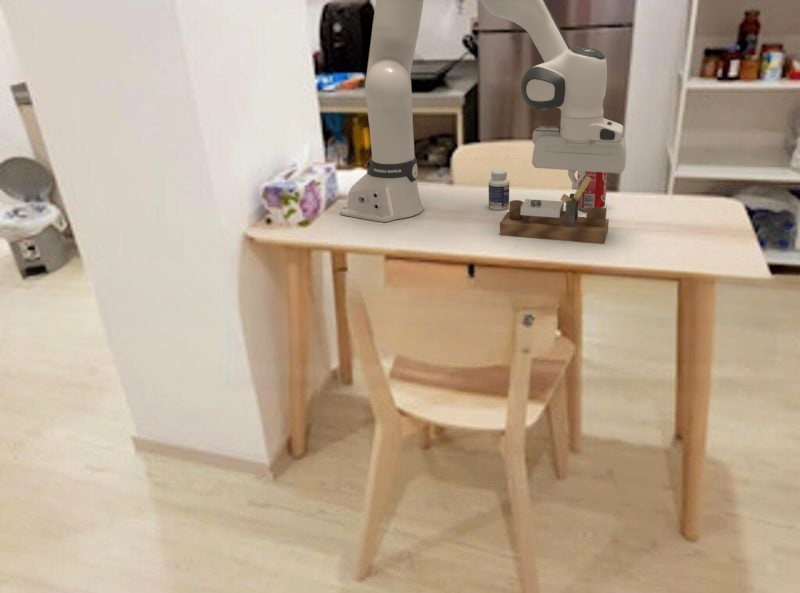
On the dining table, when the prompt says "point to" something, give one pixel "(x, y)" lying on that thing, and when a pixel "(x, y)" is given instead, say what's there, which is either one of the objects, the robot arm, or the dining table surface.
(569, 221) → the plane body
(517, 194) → the dining table surface
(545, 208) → the grey plate with knob
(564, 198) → the lever
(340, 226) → the dining table surface
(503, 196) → the pill bottle
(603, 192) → the soda can
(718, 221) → the dining table surface
